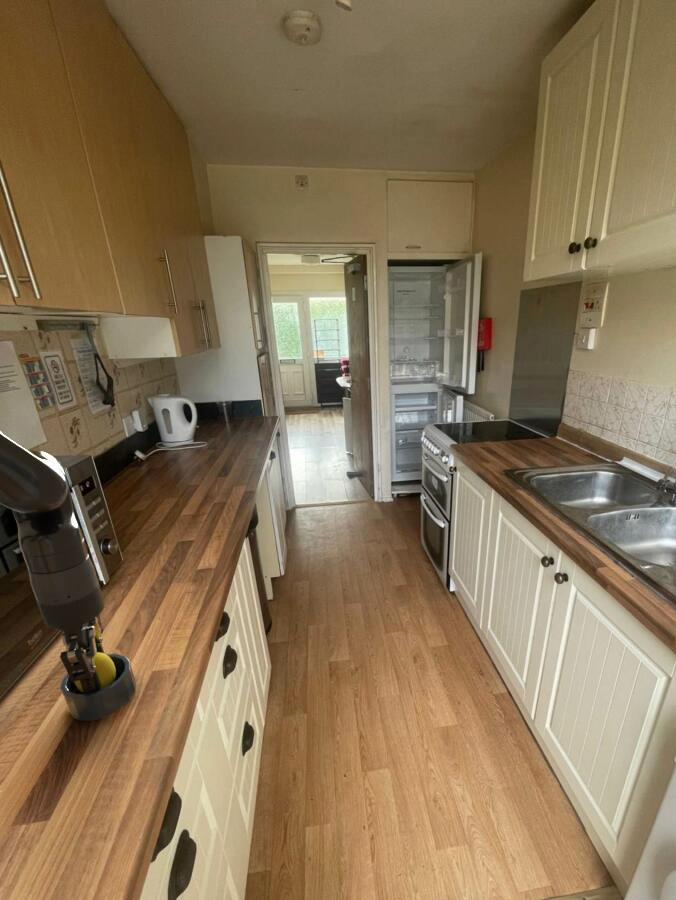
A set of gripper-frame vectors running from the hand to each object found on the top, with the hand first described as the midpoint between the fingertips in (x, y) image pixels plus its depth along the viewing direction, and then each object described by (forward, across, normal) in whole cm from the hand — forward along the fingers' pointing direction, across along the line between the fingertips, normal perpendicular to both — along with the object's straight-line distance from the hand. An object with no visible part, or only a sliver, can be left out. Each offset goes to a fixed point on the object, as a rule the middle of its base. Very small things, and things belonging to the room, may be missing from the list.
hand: (95, 676), depth 69 cm
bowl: (+5, 0, 0) cm, 5 cm away
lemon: (+4, 0, 0) cm, 4 cm away
